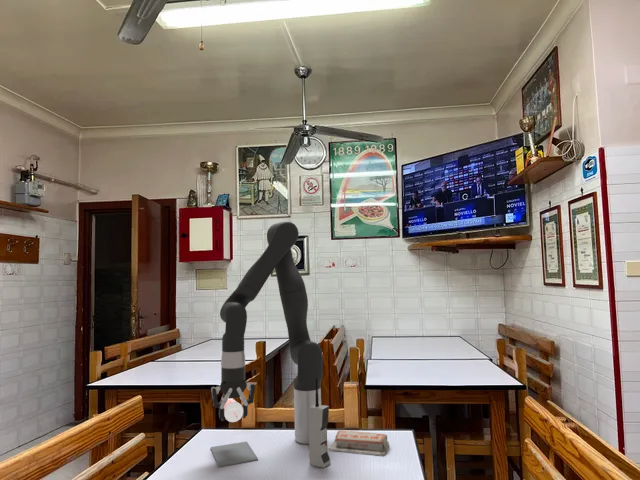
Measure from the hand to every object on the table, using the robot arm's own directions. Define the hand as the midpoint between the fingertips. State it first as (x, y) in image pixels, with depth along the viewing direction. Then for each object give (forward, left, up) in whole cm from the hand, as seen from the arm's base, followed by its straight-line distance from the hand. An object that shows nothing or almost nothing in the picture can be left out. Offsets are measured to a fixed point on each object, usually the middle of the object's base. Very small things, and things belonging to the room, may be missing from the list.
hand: (233, 418), depth 143 cm
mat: (0, -1, -11) cm, 11 cm away
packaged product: (-38, +11, -12) cm, 42 cm away
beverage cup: (0, -8, +2) cm, 9 cm away
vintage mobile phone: (-22, +18, -11) cm, 31 cm away
